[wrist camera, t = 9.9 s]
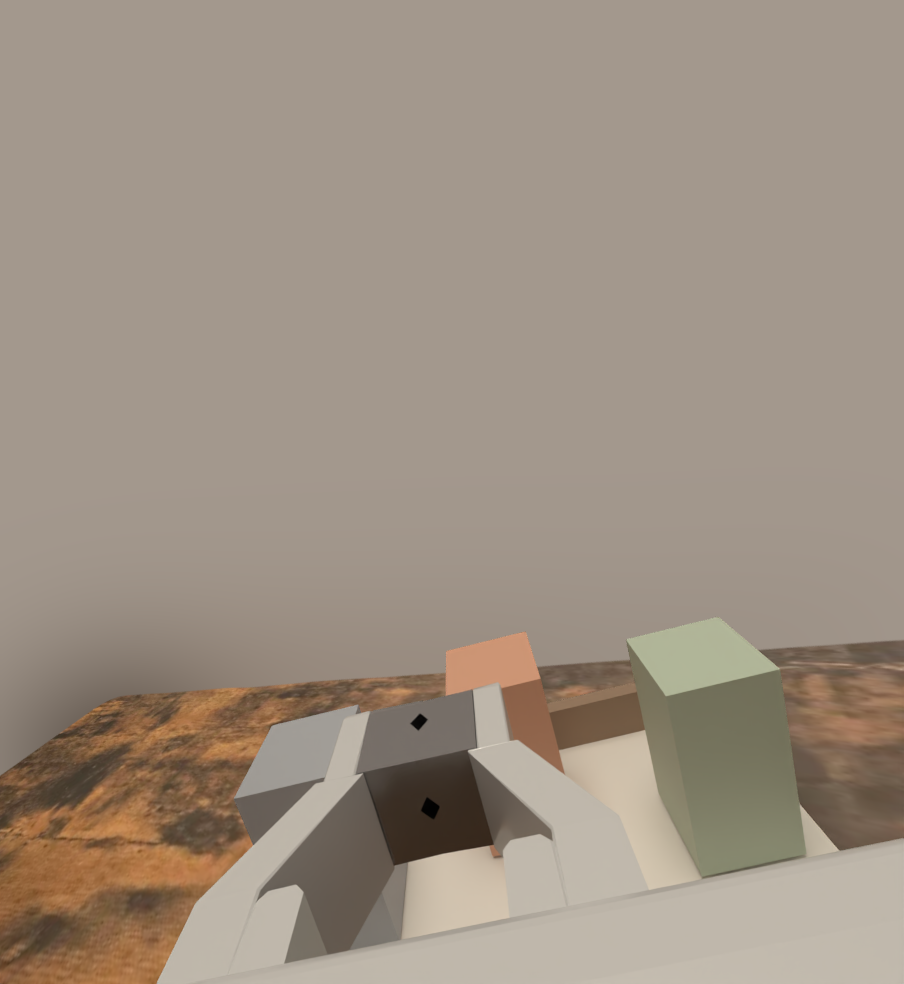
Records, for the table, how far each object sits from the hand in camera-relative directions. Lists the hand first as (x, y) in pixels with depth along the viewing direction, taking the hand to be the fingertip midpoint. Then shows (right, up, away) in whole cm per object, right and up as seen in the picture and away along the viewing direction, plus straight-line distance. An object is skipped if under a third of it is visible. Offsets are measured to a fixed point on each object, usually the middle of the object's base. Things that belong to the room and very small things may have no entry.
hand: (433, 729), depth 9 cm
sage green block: (+15, -13, +17) cm, 26 cm away
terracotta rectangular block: (+5, -15, +20) cm, 26 cm away
